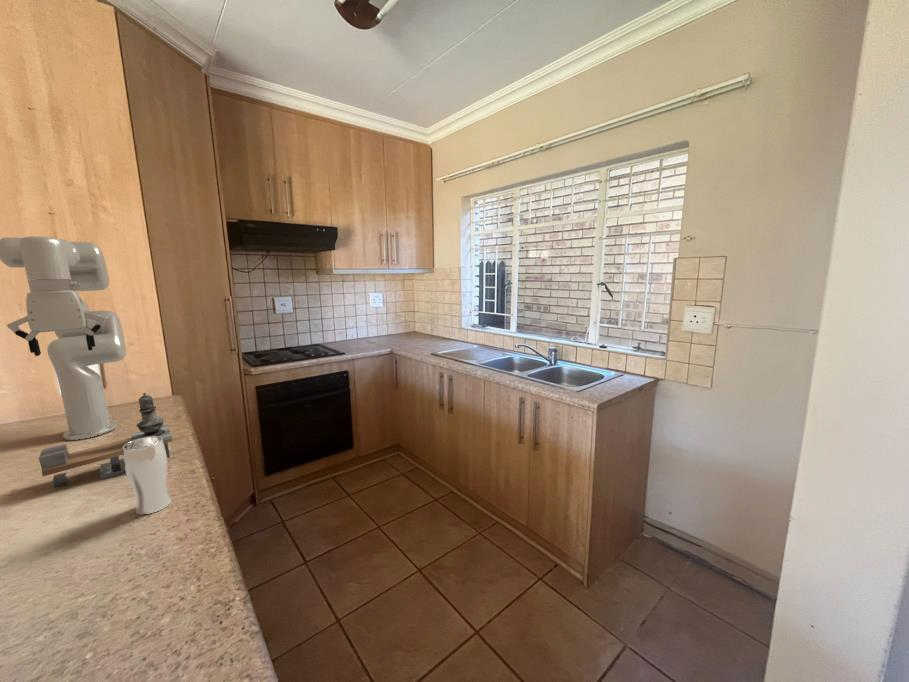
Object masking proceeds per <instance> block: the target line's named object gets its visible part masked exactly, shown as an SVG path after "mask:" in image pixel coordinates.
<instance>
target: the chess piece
mask: <svg viewBox="0 0 909 682" xmlns="http://www.w3.org/2000/svg"><path fill="white" fill-rule="evenodd" d="M138 403H139V408H140V409H139V410H138V412H140V415H141V421H139V422H138V423H137V424H136V427H137V428H138V430H139V432H144V434H143V435H141V438H143V437H149V436H160V435H162V434H164V433H165V430H162V429H160V428H161V427H162V426H164V421H165V418H164V417H158V415H157V413H156V412H157V411H156V409H157V406H155V403H154V400H153V396H151V395H147V393H145V392H143V393H142V396H141V397H139V398H138Z"/></svg>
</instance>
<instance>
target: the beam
mask: <svg viewBox="0 0 909 682" xmlns="http://www.w3.org/2000/svg"><path fill="white" fill-rule="evenodd" d="M160 429H162V430H165V433H164V434H162V435H160V437H162V439H163V443H168V444H169V443H171V442H173V436H172V433H171V430H170V427H169V426H168V424H165V425H163V426H162V427H161V428H160ZM143 434H144V432H141V431H137V432H134V433H133V432H132V433H131V437H129V438H125V439H121V440H118V441H114V442H109V443H106V444H105V443H104V444H101V445H98V446H94V447H89V448H86V449H82V450H77V451H74V452H70V453H69V448H68V445H67V443H64V444H60V445H59V444H58V445H56V446H51V447H46V448H43V449H42V450H41V452H40V454H39V457H38V461H39V464H40V468H41V475H42V477H47V476H50V475H54V474H59V473H61V472H65V471H68V470H72V469H77V468H78V467H83V466H86V465H90V464H93V463H97V462H100V461H105V460H110V458H113V457H116V456H123V449H122V447H123V446H124V445H125V444H126V443H128V442H130V441H133V440H136V439H139V438H141V435H143Z"/></svg>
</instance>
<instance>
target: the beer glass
mask: <svg viewBox="0 0 909 682" xmlns="http://www.w3.org/2000/svg"><path fill="white" fill-rule="evenodd" d="M122 449H123V455H122V457H123V458H122V459H123V460H124V467H125V471H126V473H125V474H126V476H127V479H128V482H129V484H130V486H131V489H133V492H134V495H135V513H136V514H137V515H139V514H140V515H141V516H144V515H143V514H147V515H151V514H150V513H152V514H155V513H157V511H158V512H160V511H162V510H164V509H165V507H166V508H167V507H168V506H170V504H171V503H172V498H171V496H170V494H169V492H168V491H169V490H168V488H167V486H168V485H167V480H168V479H167V476H168V458H167V455H166V450H165V446H164V443H163V439H162V437H160V436H149V437H143V438H139V439H136V440H133V441H130V442H128V443H126V444H125V445H124V446H123V447H122ZM154 512H155V513H154Z"/></svg>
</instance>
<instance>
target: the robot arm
mask: <svg viewBox="0 0 909 682" xmlns="http://www.w3.org/2000/svg"><path fill="white" fill-rule="evenodd" d="M0 261H1V262H2V263H3V264H4V265H5V266H6V267H9V268H24V269H25V275H26V279H27V284H28V289H29V292H27V293H26V296H25V297H26V298H25V299H26V300H25V302H26V303H25V304H26V305H25V306H26V314H27V315H26V316H24V317H21V318H19V319H17V320H14V321H12V322H10V323H7V324H6V326H7V328H8V329H9V330H10V331H12V332H13V334H14V335H16V336H18V337H20V338H22V339H24V340H25V341H26V342H27V344H28V346H29V347H28V348H29V351H30V353H31V354H34V356H35V357H39V356H40V355H41V354H42V352H41V348H40V343H39V339H37V336H38V334H40V333H51V332H54V335H55V336H56V337H57V339H54V340H52V341H50V342H49V344H48V345H47V355H48V357H49V360H50V362H51V364H52V366H53V369H54V371H55V373H56V377H57V381H58V386H59V390H60V394H61V400H62V403H63V409H64V413H65V417H66V418H65V419H66V423H67V426H68V430H67V431H65V432H64V433H63V434H62V438H63V439H64V440H65V441H66V440H67V441H79V439H80V440H85V438H86V439H91V438H95V437H98V436H97V435H99V436H101V435H100V434H102V435H104V434H103V433H105V434H107V433H106V432H108V433H110V432H112V431H114V430H115V429H116V428H117V427H118V425H117V422H115V421H111V420H110V416H109V415H110V414H109V410H108V405H107V399H106V396H105V395H106V394H105V389H104V386H103V383H104V382H103V380H102V376H100V374H99V373H98V372H96V371H95V370H93V369H91V368H90V367H89V366H94V365H102V364H109V363H110V364H111V363H116V362H117V363H118V362H120V361H122V360H124V359H125V357H126V354H127V347H126V341H125V335H124V332H123V331H124V330H123V327H122V323H121V319H120V317H119V316H118V314H117V313H116V312H114V311H111V310H91V311H90V310H89V309H90V307H89V304H88V303H87V302H85V301H84V299H82V298H81V296H80V294H79V292H91V291H97V292H98V291H104V290H106V289H108V287H109V284H110V278H109V274H108V268H107V263H106V259H105V255H104V253H103V251H102V249H101V248H100V247H99V246H98V244H95V243H93V242H91V241H69V240H67V239H62V238H57V237H51V236H49V237H48V236H35V235H34V236H33V235H32V236H24V237H14V236H13V237H7V236H5V237H2V238H0ZM27 322H28V326H29V330H30V332H29V333H28V332H26V331H24V330H22V328H20V327H19V326H21V325H24V324H26V323H27ZM114 428H115V429H114ZM113 429H114V430H113ZM111 430H112V431H111ZM109 431H110V432H109ZM94 436H95V437H94ZM90 437H91V438H90Z"/></svg>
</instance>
